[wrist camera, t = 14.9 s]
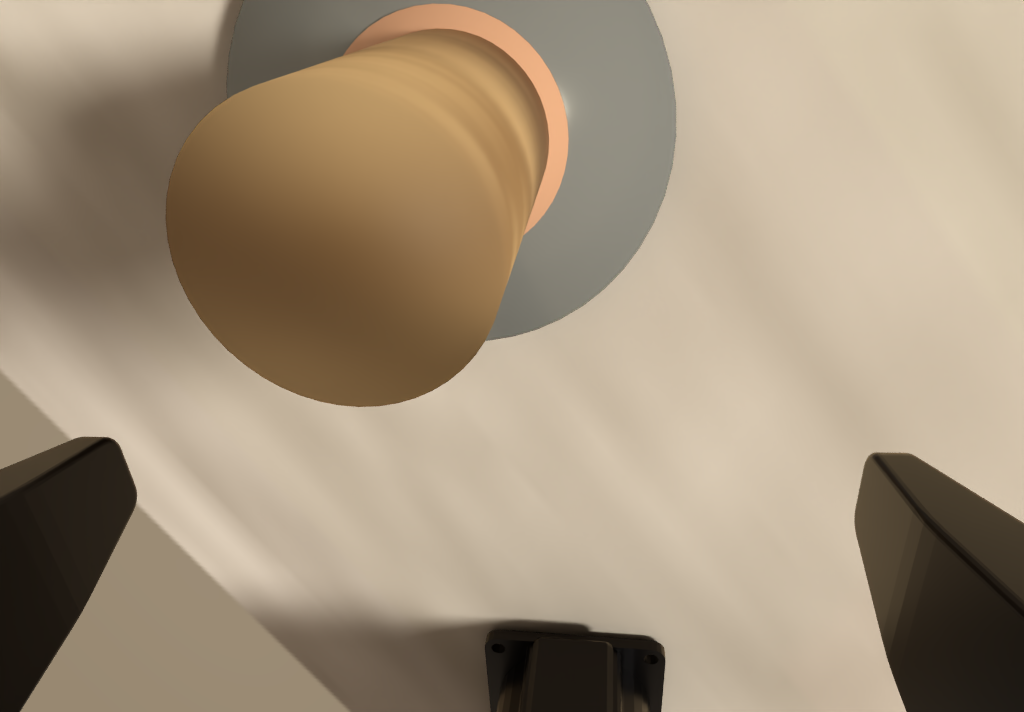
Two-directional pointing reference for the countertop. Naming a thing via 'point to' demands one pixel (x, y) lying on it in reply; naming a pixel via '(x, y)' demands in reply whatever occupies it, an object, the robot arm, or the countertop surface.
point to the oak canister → (361, 215)
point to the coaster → (568, 107)
